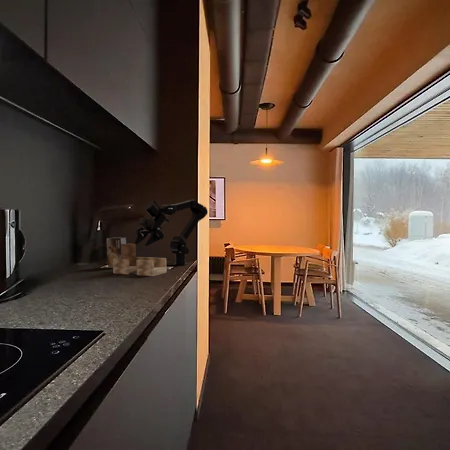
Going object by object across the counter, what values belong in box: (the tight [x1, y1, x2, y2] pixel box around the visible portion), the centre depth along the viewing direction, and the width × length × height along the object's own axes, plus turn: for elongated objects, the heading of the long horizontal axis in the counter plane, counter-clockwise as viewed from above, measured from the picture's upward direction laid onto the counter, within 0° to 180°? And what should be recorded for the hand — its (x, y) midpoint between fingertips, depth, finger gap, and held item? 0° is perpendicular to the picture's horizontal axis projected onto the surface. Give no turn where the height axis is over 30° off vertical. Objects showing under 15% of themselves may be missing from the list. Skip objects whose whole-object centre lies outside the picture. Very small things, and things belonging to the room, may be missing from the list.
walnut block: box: [121, 243, 137, 267], centre depth 196 cm, size 5×5×11 cm
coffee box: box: [106, 237, 128, 269], centre depth 215 cm, size 9×6×16 cm
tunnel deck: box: [112, 256, 168, 277], centre depth 194 cm, size 24×11×7 cm, turn 64°
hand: (140, 245), depth 202 cm, fingers open, 9 cm apart
